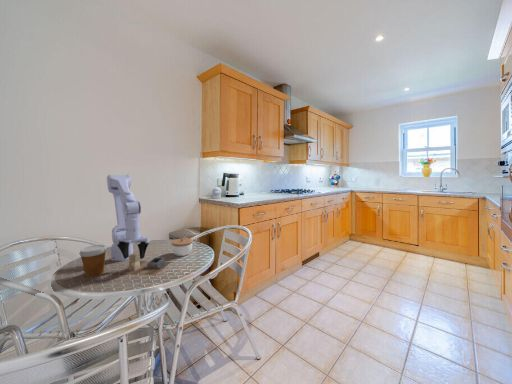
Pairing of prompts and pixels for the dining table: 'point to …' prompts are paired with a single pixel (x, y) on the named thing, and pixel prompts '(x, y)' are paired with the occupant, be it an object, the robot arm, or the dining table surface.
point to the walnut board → (143, 269)
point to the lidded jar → (182, 246)
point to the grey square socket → (155, 263)
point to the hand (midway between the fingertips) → (134, 257)
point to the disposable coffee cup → (93, 259)
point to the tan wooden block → (134, 261)
